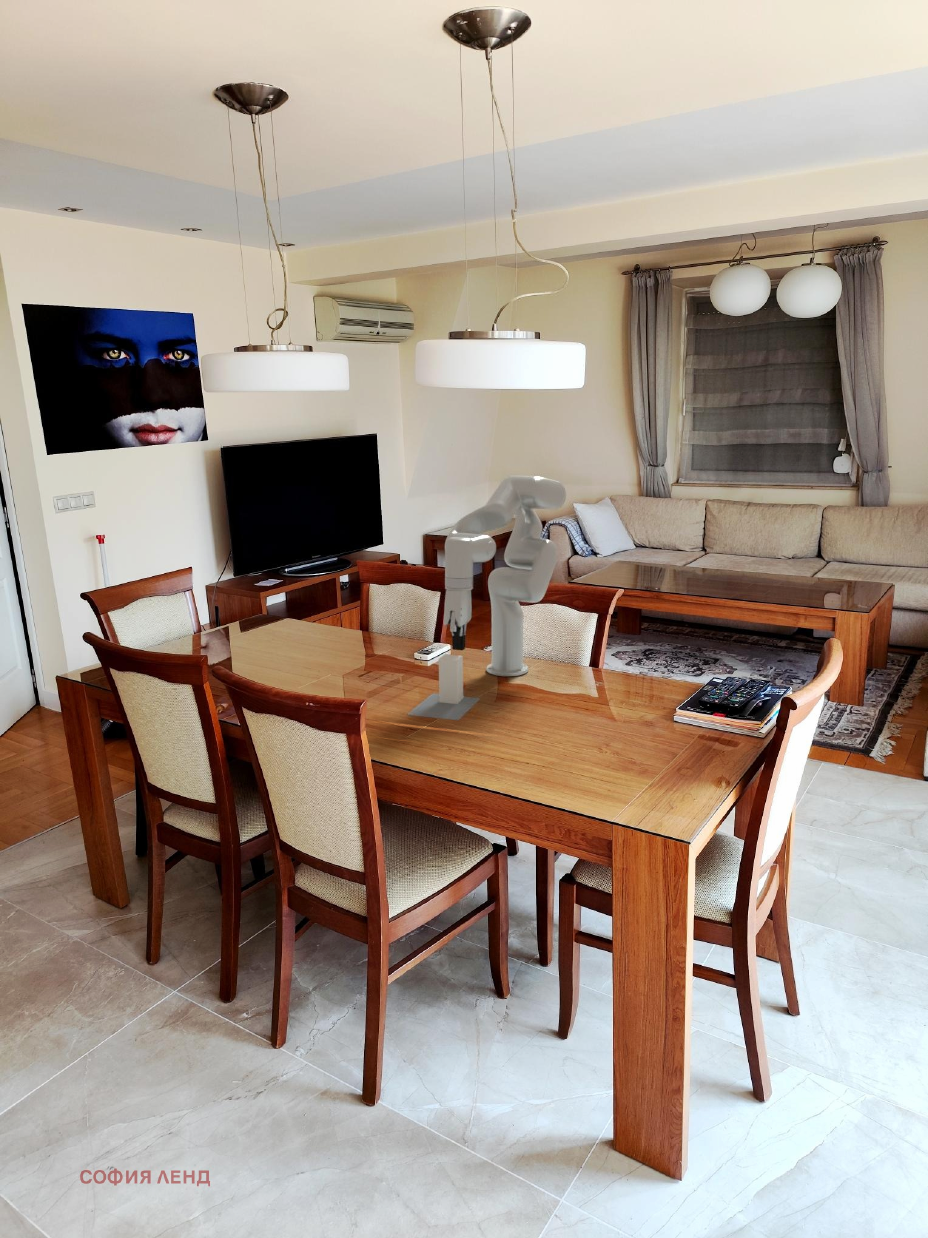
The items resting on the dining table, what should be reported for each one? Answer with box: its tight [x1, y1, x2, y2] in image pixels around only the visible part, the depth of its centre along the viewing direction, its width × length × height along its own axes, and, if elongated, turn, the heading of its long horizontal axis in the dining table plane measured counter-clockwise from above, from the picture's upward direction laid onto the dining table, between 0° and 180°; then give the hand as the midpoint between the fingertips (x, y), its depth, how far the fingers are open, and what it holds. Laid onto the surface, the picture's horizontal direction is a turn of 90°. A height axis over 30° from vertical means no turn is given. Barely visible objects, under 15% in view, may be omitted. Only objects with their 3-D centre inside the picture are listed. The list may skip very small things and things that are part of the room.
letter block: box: [438, 653, 464, 704], centre depth 227 cm, size 5×5×12 cm
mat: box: [407, 692, 481, 721], centre depth 223 cm, size 18×14×1 cm
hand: (458, 649), depth 231 cm, fingers closed
